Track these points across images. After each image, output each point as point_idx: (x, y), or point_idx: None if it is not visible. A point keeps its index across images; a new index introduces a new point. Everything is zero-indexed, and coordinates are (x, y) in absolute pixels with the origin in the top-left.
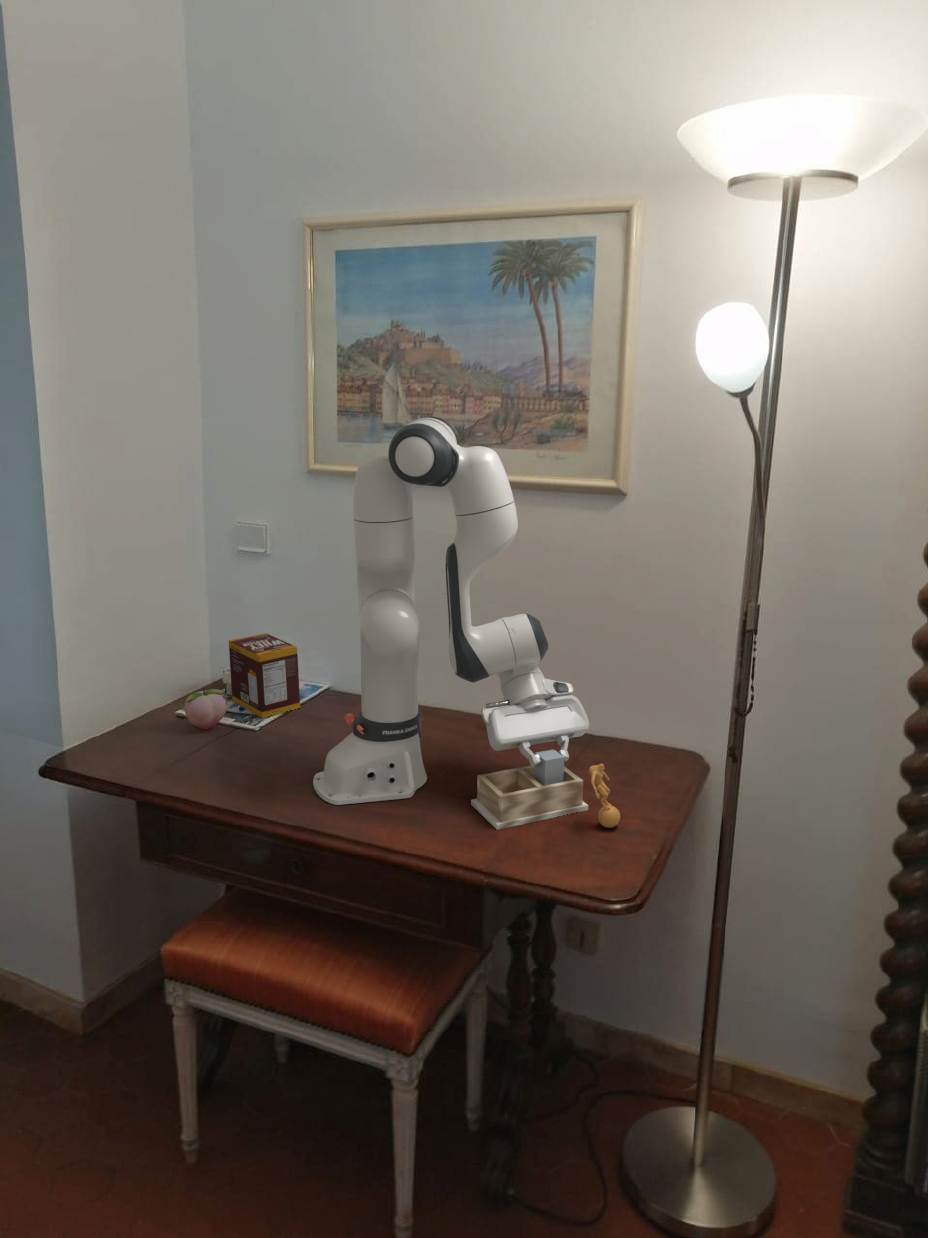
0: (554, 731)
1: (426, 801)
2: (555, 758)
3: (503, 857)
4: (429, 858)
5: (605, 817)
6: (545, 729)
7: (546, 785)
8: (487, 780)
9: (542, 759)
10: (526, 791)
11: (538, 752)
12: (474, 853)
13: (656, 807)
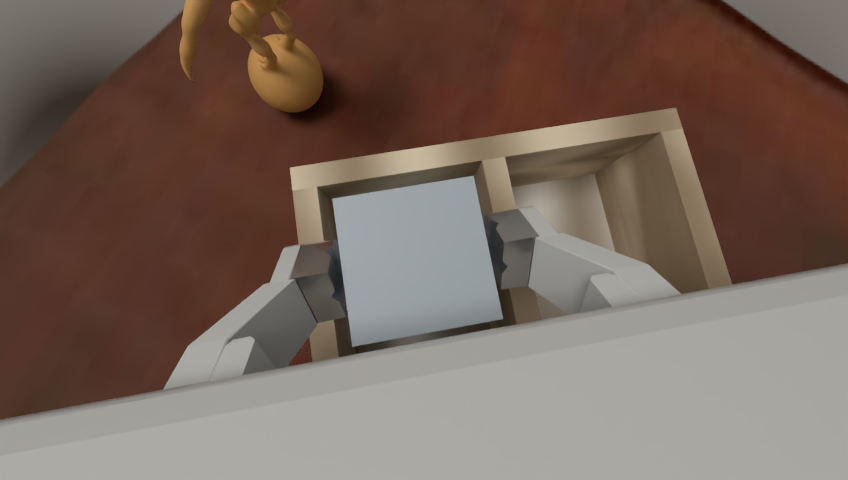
0: (294, 392)
1: None
2: (396, 193)
3: (619, 22)
4: (799, 60)
5: (306, 46)
6: (418, 427)
7: (464, 162)
8: (710, 271)
9: (479, 214)
10: (564, 128)
11: (478, 317)
12: (687, 56)
13: (103, 168)
